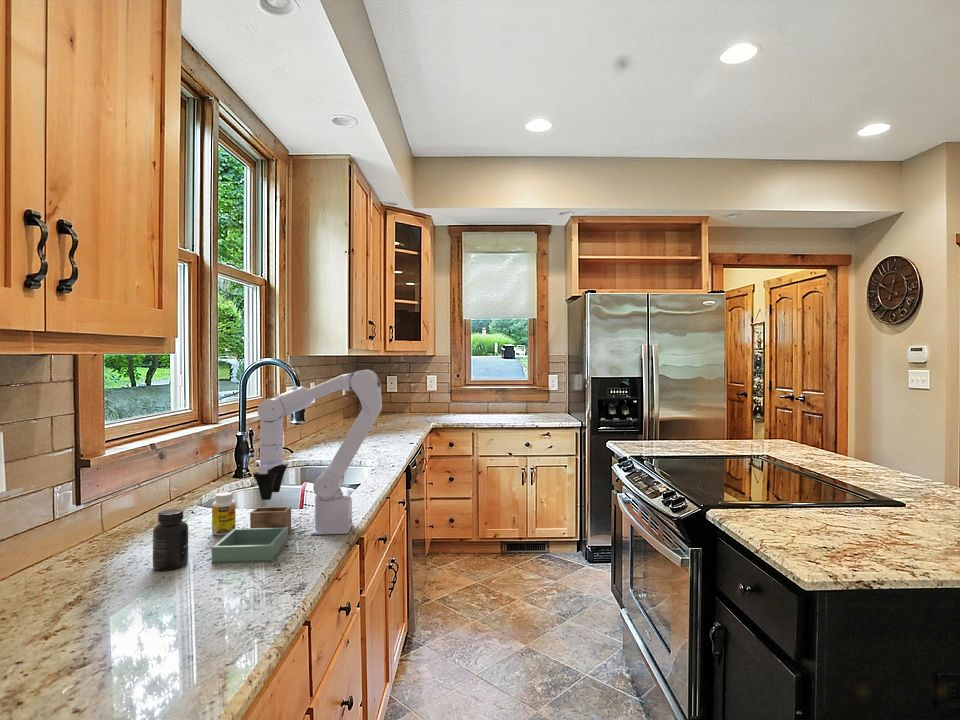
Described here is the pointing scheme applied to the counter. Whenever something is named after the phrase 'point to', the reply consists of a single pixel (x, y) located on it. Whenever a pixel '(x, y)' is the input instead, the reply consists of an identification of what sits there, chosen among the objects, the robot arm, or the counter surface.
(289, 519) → the walnut crate
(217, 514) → the supplement bottle
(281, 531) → the green crate
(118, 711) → the counter surface
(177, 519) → the supplement bottle
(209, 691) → the counter surface
